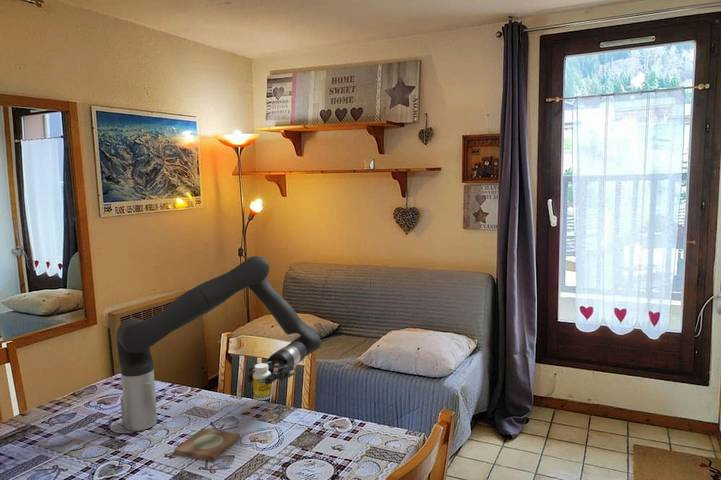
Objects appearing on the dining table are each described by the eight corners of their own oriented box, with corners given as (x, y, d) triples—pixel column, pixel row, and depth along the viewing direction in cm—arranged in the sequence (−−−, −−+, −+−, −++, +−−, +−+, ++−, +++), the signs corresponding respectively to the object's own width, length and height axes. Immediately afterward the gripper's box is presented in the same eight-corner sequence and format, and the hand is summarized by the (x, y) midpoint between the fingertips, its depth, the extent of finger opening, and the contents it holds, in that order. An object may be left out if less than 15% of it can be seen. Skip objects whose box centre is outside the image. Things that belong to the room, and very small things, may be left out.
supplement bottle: (267, 391, 159) (266, 360, 158) (275, 397, 155) (273, 366, 154) (250, 395, 156) (249, 364, 155) (257, 402, 152) (256, 370, 151)
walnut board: (174, 453, 147) (174, 449, 146) (202, 431, 159) (202, 427, 159) (214, 461, 142) (214, 456, 142) (240, 438, 154) (240, 434, 154)
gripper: (264, 347, 170) (235, 365, 154) (304, 351, 165) (279, 370, 149) (264, 369, 171) (236, 389, 155) (305, 374, 166) (280, 395, 150)
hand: (257, 380), depth 152 cm, fingers closed on supplement bottle, 5 cm apart
